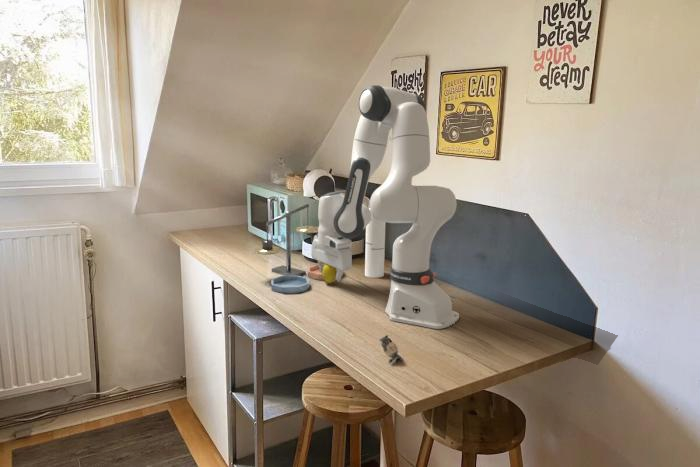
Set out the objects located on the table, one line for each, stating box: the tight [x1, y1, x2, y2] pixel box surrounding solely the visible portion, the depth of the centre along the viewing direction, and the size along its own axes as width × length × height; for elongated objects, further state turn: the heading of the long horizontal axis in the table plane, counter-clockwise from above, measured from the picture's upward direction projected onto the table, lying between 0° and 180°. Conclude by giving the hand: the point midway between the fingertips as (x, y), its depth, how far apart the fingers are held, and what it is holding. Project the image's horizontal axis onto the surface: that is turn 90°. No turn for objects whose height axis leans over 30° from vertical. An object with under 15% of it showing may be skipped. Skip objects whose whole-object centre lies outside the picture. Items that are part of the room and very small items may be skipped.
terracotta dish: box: [306, 263, 344, 281], centre depth 203 cm, size 13×13×2 cm
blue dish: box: [270, 275, 310, 295], centre depth 188 cm, size 13×13×2 cm
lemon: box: [322, 263, 337, 284], centre depth 192 cm, size 6×6×8 cm
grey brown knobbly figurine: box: [379, 334, 405, 366], centre depth 135 cm, size 5×5×6 cm
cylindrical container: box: [364, 207, 387, 279], centre depth 202 cm, size 7×7×25 cm
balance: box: [254, 203, 319, 277], centre depth 202 cm, size 31×12×25 cm, turn 143°
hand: (330, 276), depth 193 cm, fingers open, 8 cm apart
